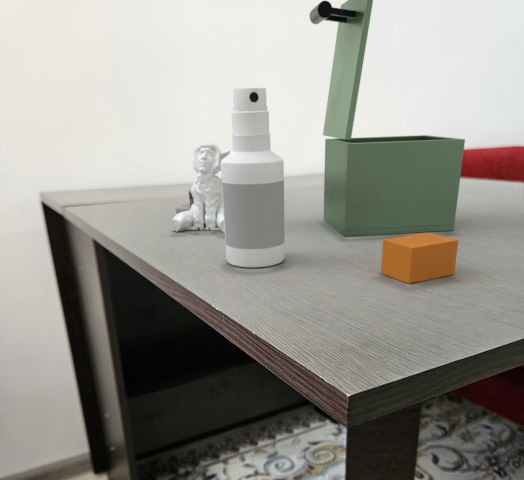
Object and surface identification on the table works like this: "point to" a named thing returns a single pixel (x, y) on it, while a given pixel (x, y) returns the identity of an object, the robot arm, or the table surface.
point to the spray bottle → (252, 186)
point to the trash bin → (392, 184)
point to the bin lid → (344, 62)
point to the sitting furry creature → (204, 192)
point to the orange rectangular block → (419, 257)
